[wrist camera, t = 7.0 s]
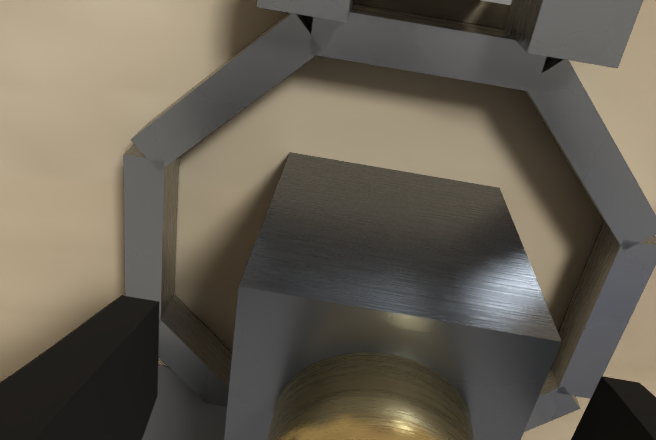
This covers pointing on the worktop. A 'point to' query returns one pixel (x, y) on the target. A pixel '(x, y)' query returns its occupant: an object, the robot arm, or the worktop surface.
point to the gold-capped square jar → (386, 312)
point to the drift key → (500, 1)
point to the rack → (183, 412)
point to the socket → (435, 59)
